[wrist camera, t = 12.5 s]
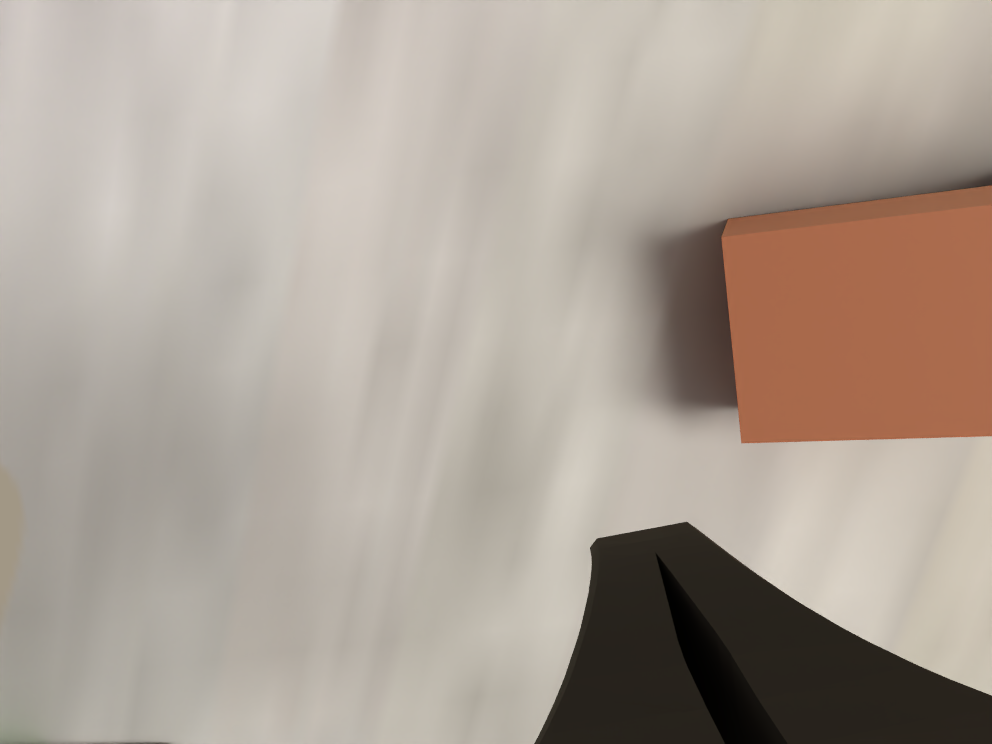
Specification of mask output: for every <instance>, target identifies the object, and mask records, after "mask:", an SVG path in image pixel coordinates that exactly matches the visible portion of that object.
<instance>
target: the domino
mask: <svg viewBox="0 0 992 744" xmlns="http://www.w3.org/2000/svg"><path fill="white" fill-rule="evenodd" d="M721 239H722V249H723V259H724V269H725V279H726V290H727V300H728V310H729V320H730V330H731V340H732V351H733V361H734V371H735V381H736V391H737V402H738V412H739V422H740V432H741V442H742V443H765V442H800V441H835V440H870V439H906V438H941V437H976V436H992V185H991V186H983V187H975V188H967V189H960V190H952V191H944V192H936V193H928V194H920V195H912V196H905V197H897V198H889V199H881V200H873V201H865V202H857V203H849V204H842V205H834V206H826V207H818V208H810V209H802V210H794V211H787V212H779V213H771V214H763V215H755V216H747V217H739V218H731V219H728V221H727V224H726V226H725V229H724V231H723V234H722V237H721Z"/></svg>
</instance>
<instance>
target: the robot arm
mask: <svg viewBox="0 0 992 744" xmlns="http://www.w3.org/2000/svg"><path fill="white" fill-rule="evenodd" d="M590 550H591V556H592V571H591V580H590V587H589V593H588V598H587V603H586V607H585V611H584V616H583V620H582V624H581V628H580V632H579V636H578V639H577V642H576V645H575V648H574V651H573V654H572V657H571V660H570V663H569V666H568V669H567V672H566V675H565V678H564V680H563V683H562V685H561V688H560V690H559V693H558V695H557V697H556V700H555V702H554V704H553V707H552V709H551V711H550V713H549V715H548V717H547V720H546V722H545V724H544V726H543V728H542V730H541V732H540V734H539V736H538V738H537V740H536V742H535V743H534V744H992V696H991V695H989V694H986V693H984V692H981V691H978V690H976V689H973V688H971V687H968V686H965V685H963V684H960V683H958V682H955V681H953V680H950V679H948V678H945V677H943V676H941V675H938V674H936V673H934V672H931V671H929V670H927V669H924V668H922V667H920V666H918V665H916V664H913V663H911V662H909V661H907V660H905V659H903V658H901V657H899V656H897V655H895V654H893V653H891V652H889V651H886V650H884V649H882V648H880V647H878V646H876V645H874V644H872V643H870V642H868V641H866V640H864V639H862V638H860V637H858V636H856V635H855V634H853V633H851V632H849V631H847V630H845V629H843V628H842V627H840V626H838V625H836V624H835V623H833V622H831V621H830V620H828V619H826V618H824V617H823V616H821V615H819V614H818V613H816V612H814V611H813V610H811V609H809V608H807V607H806V606H804V605H802V604H801V603H799V602H798V601H796V600H794V599H793V598H791V597H790V596H788V595H787V594H785V593H784V592H782V591H781V590H779V589H778V588H777V587H775V586H774V585H772V584H771V583H769V582H768V581H766V580H765V579H763V578H762V577H760V576H759V575H757V574H756V573H755V572H753V571H752V570H751V569H749V568H748V567H746V566H745V565H744V564H742V563H741V562H740V561H738V560H737V559H736V558H734V557H733V556H732V555H730V554H729V553H728V552H726V551H725V550H724V549H722V548H721V547H720V546H718V545H717V544H716V543H714V542H713V541H712V540H711V539H709V538H708V537H707V536H705V535H704V534H703V533H702V532H700V531H699V530H698V529H696V528H695V527H693V526H692V525H691V524H689V523H688V522H684V523H678V524H673V525H667V526H662V527H657V528H651V529H646V530H641V531H635V532H630V533H624V534H619V535H614V536H608V537H603V538H598V539H596V541H595V542H594V543H593V544H592V546H591V547H590Z"/></svg>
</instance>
